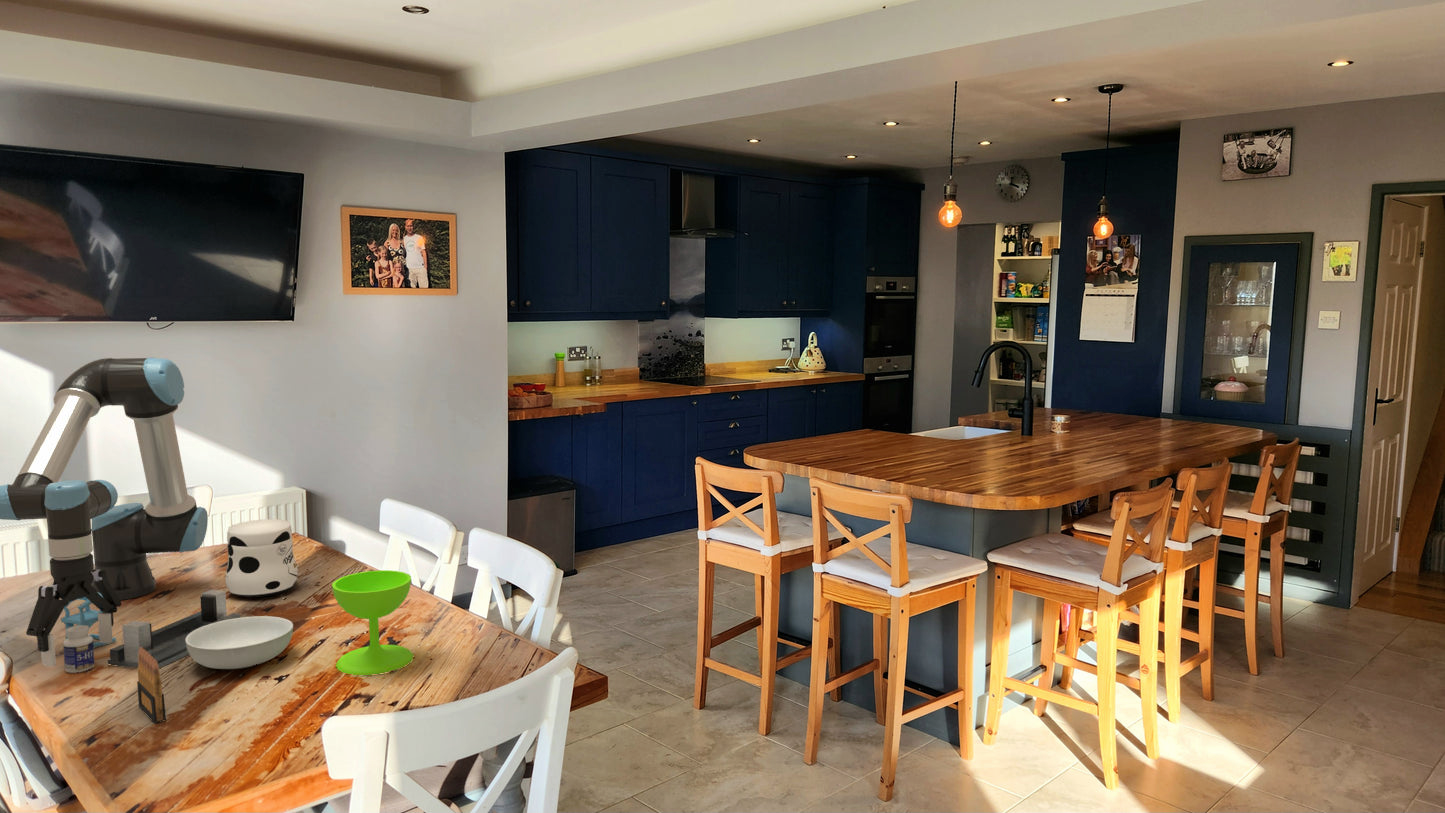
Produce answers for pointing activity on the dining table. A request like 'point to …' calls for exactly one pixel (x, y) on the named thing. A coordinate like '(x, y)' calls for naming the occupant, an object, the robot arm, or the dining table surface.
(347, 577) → the wineglass
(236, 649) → the serving bowl
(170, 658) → the rail
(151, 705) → the ammunition clip
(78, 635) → the pill bottle
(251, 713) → the dining table surface
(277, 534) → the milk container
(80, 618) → the chair
